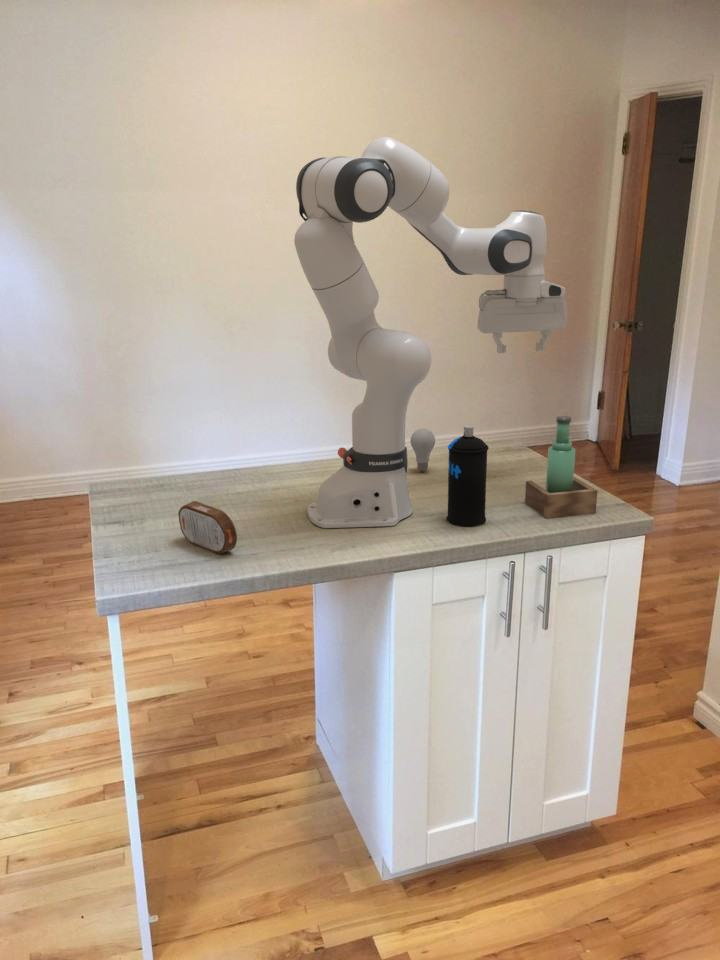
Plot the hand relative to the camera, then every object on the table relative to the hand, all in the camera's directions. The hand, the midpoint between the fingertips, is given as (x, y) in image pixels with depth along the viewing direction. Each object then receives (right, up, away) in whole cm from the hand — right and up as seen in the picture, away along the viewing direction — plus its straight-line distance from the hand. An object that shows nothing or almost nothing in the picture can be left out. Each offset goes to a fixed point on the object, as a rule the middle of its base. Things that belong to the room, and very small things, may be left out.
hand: (520, 351), depth 177 cm
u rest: (+7, -35, -7) cm, 36 cm away
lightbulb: (-21, -27, +19) cm, 39 cm away
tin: (-66, -42, -25) cm, 82 cm away
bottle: (+7, -35, -7) cm, 36 cm away
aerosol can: (-14, -37, -13) cm, 42 cm away
